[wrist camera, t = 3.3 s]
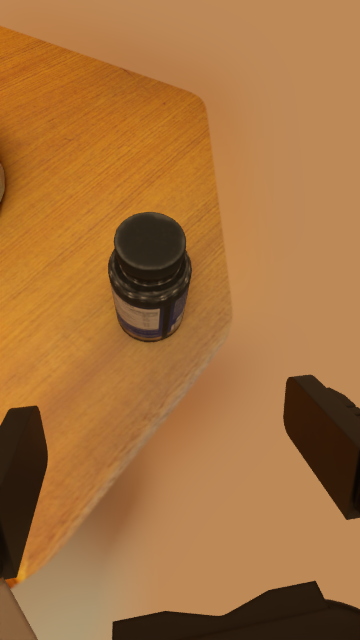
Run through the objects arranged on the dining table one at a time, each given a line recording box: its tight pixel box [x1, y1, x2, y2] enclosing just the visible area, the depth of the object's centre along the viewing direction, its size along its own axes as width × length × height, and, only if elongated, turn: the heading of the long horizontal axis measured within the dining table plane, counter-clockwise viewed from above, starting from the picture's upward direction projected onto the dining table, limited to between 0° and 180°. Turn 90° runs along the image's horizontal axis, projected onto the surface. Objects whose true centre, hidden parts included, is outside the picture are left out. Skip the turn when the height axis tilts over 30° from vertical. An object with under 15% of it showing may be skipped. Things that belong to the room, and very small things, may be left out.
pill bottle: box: [108, 212, 192, 342], centre depth 27 cm, size 6×6×11 cm
